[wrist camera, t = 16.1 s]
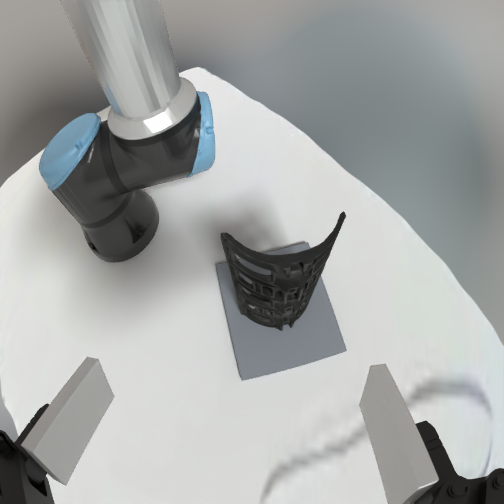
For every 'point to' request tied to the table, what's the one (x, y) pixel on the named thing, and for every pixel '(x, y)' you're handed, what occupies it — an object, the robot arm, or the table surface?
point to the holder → (277, 280)
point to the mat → (273, 340)
